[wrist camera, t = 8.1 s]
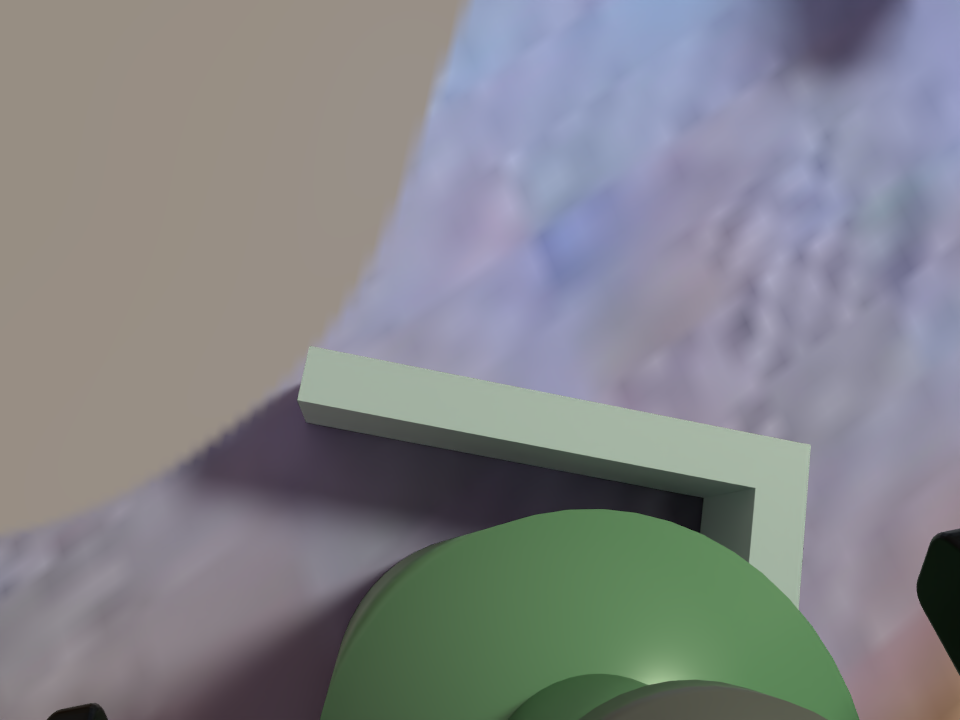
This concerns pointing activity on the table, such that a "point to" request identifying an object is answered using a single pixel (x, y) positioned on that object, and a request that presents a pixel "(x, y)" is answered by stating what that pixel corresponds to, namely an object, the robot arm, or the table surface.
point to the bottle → (582, 631)
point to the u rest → (581, 446)
